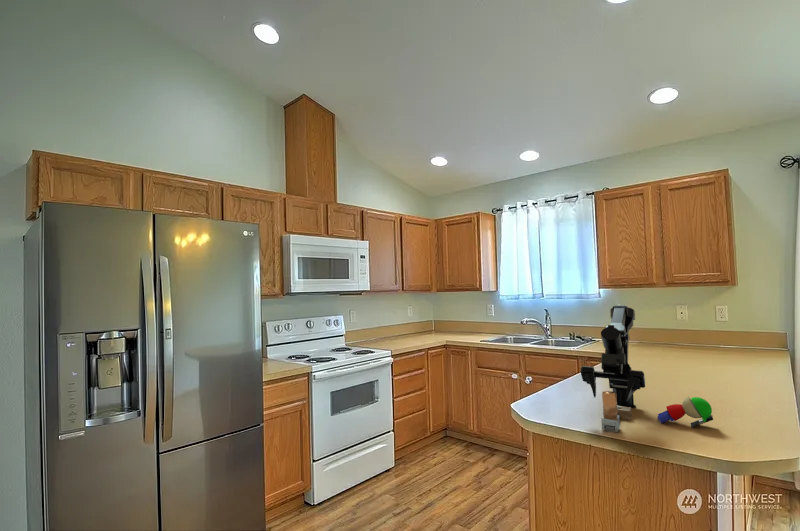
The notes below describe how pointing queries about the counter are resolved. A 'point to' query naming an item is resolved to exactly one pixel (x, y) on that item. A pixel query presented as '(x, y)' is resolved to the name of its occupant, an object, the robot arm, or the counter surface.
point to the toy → (688, 411)
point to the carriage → (610, 410)
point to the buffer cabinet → (624, 412)
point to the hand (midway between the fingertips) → (610, 398)
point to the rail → (612, 428)
